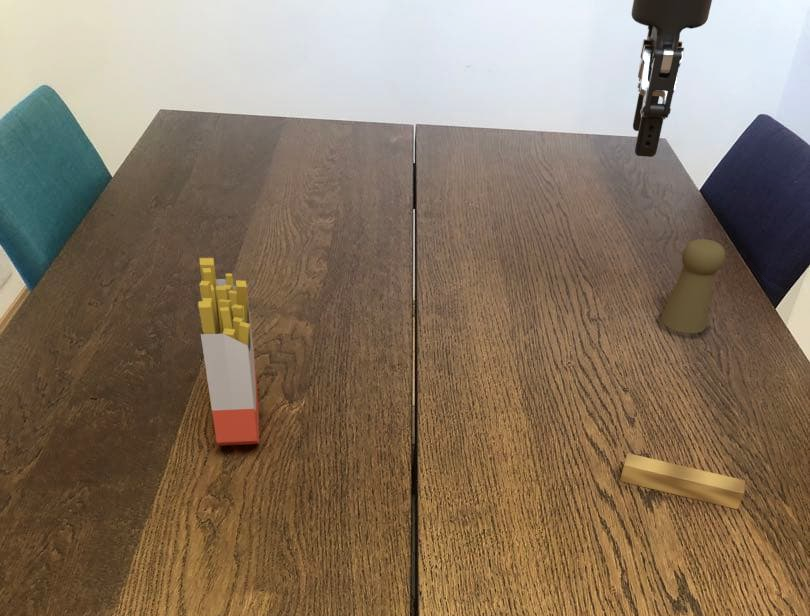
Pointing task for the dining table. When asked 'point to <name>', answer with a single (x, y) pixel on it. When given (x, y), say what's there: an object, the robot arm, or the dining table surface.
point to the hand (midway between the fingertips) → (643, 142)
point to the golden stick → (683, 481)
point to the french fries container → (229, 357)
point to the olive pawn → (694, 287)
